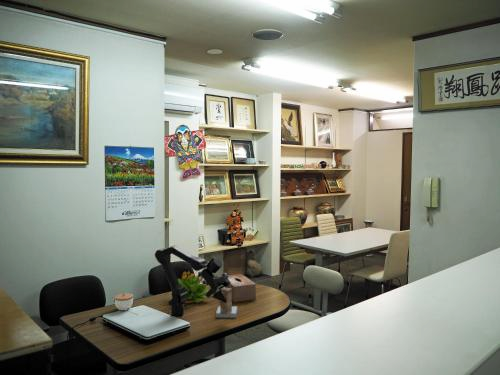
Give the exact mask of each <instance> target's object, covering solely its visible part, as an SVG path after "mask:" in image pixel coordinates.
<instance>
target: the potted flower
mask: <svg viewBox="0 0 500 375" xmlns="http://www.w3.org/2000/svg"><path fill="white" fill-rule="evenodd" d="M177 279H178V281H179V284H180V285H181V286H182V287H185V288H186V291H187V292H188V293H187V295H188V297H187V299H186V300H185V302H184V303H185V304H190V303H191V304H192V303H197V304H198V303H199V304H200V302H202V301H205V300H206V297H205V296H206V293H207V292H208V291H209V290H210V288H207V287H208V285H206V284H204V283H202V282H203V280H204V278H203V277H202V276H201V277H199V278H198V275H195V273H191V272H190V271H187V272H186V271H183V273H182V276H181V278H177ZM170 289H171V290H172V288H171V287H170ZM171 299H172V296H171ZM184 303H183V304H184Z"/></svg>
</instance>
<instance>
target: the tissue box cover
mask: <svg viewBox="0 0 500 375" xmlns="http://www.w3.org/2000/svg"><path fill="white" fill-rule="evenodd" d="M228 275H229V277H228V279H229V281H230V282H231V283H230V284H229V286H228V288H232V302H235V303H237V302H246V301H253V300H256V299H257V284H256V283H255V282H254V281H252V280H251V279H249V278H248V277H247V276H245V275H243V273H240V274H239V273H238V274H231V275H230V274H228Z"/></svg>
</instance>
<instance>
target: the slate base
mask: <svg viewBox="0 0 500 375" xmlns="http://www.w3.org/2000/svg"><path fill="white" fill-rule="evenodd" d="M237 314H238V306H237V305H236V306H233V305H232V312H231V313H230V314H229V315H225V314H220V305H219V306H218V307H217V310H216V312H215V318H227V319H228V318H232V319H233V318H235V319H236V318H237Z"/></svg>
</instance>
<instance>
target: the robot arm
mask: <svg viewBox="0 0 500 375" xmlns="http://www.w3.org/2000/svg"><path fill="white" fill-rule="evenodd" d="M172 255H174V256H175V257H177V258H179V259H180V260H183V261H184V262H185V263H187V264H188V265H189V267H190V268H191V269H193V270H194V272H195V271H196V272H197V273H198V274H197V276H198V278H201V276H202V277H203V280H204V281H205V282H206V283H205V285H207V286H209V291H208V292H207V293H206V297H205V298H207V299H210V298H212V299H216V300H218V301H219V302H220V301H222V302H224V303H226V302H227V301H226V299H225V298H224V296H223V295H222V293H221V289H222V288H224V287H225V288H228V286H229V284H230V283H231V282H230V281H229V279H228V277H229V275H230V274H228V273H227V272H224V273H223V272H222V274H221V276H218V275H216V273H217V272H218V271H219V270H220V269H221V268H222V267H223V264H224V263H223V261H222V260H220V259H219V258H216V257H215V256H213V257H211V259H210V261H208V260H206V259H204V258H202V257H200V256H194V255H192V254H191V253H188V252H187V251H185V250H184V249H182V248H180V247H178V246H177V245H171V246H170V247H166V248H165V247H163V248H160V249H158V250H156V251H155V253H154V256H155V260H156V261H157V262H158V263H159V264H160V265H161V266H162V268H163V271H164V273H165V276H166V278H167V281H168V283H169V286H170V289H171V288H172V289H171V297H172V298H171V299H170V300H169V301H168V305H169V306H170V309H171V314H170V317H171V316H175V317H178V318H179V317H183V316H184V314H185V305H184V302H185V300H186V299H187V297H188V295H187V293H188V292H187V291H186V288H185V287H182V286H181V285H180V284H179V281H178V279H179V278H178V277H177V275H176V273H175V269H174V267H173V264H172V263H171V260H172V259H171V258H172V257H171V256H172Z"/></svg>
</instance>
